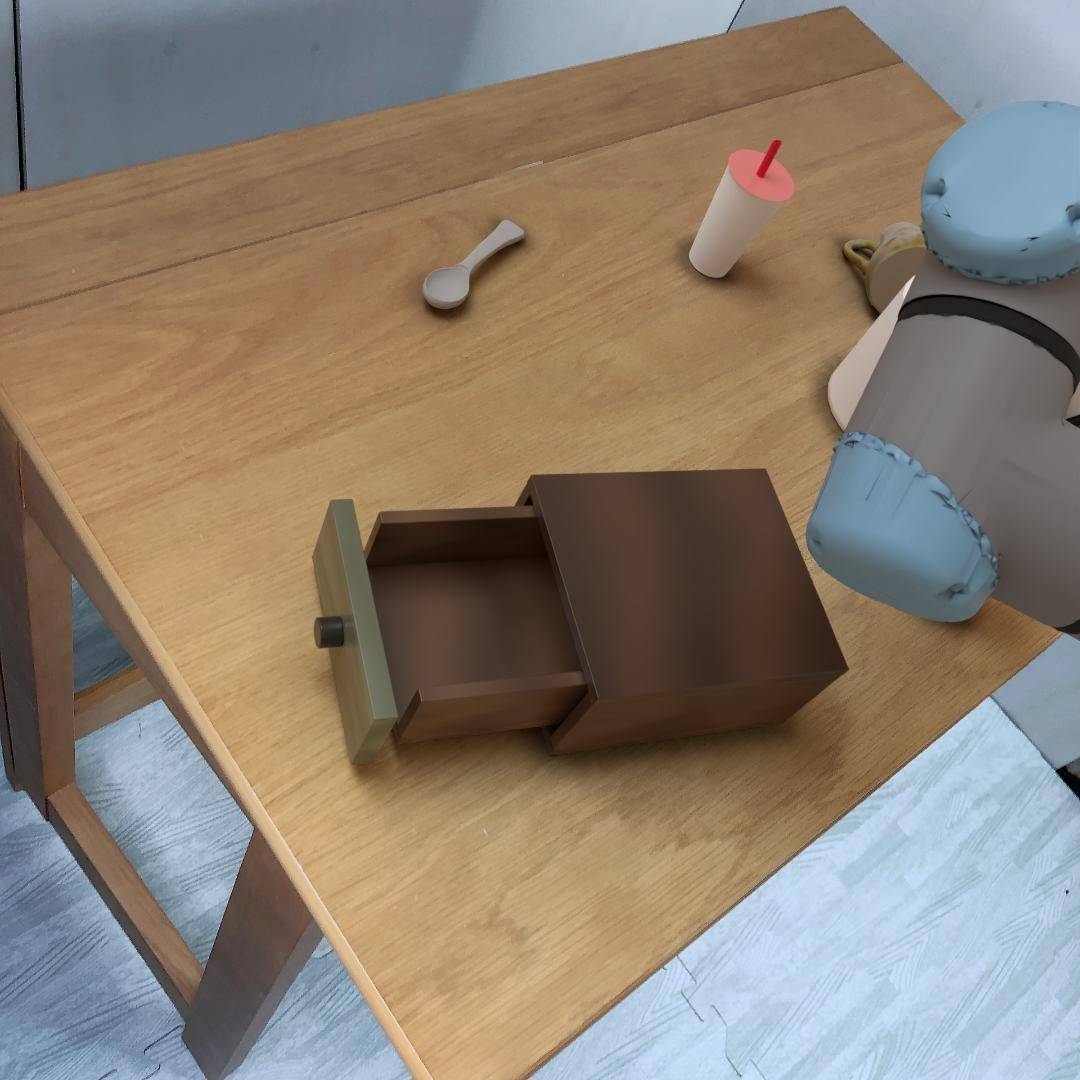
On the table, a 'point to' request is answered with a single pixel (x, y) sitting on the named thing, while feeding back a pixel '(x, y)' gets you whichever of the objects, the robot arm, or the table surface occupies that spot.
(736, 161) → the cup
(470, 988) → the table surface
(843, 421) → the mug
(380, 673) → the drawer
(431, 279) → the spoon
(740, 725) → the cabinet
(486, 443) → the table surface
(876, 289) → the mug
